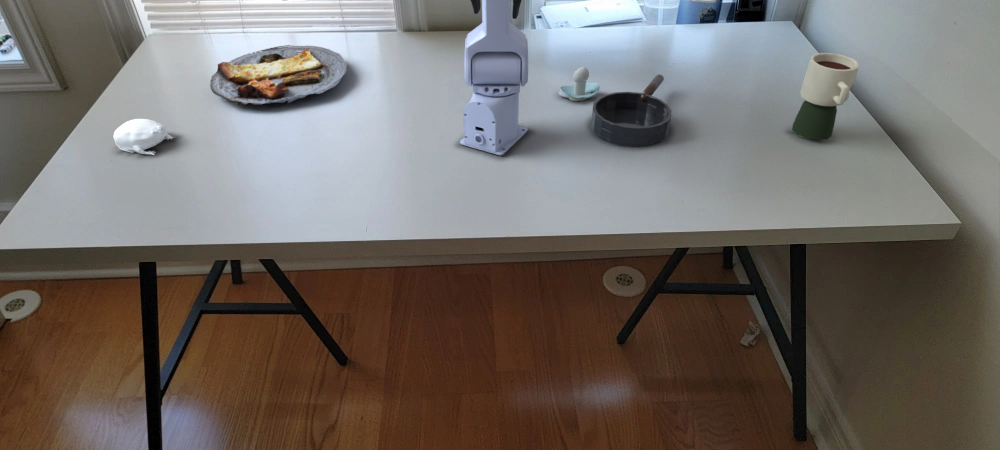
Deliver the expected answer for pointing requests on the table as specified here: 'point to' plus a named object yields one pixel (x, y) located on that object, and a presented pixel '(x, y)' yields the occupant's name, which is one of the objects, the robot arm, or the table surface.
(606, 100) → the pan
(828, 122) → the character mug
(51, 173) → the table surface
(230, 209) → the table surface
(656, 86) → the pan handle
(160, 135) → the white frog figurine
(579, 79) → the pacifier
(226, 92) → the food plate
